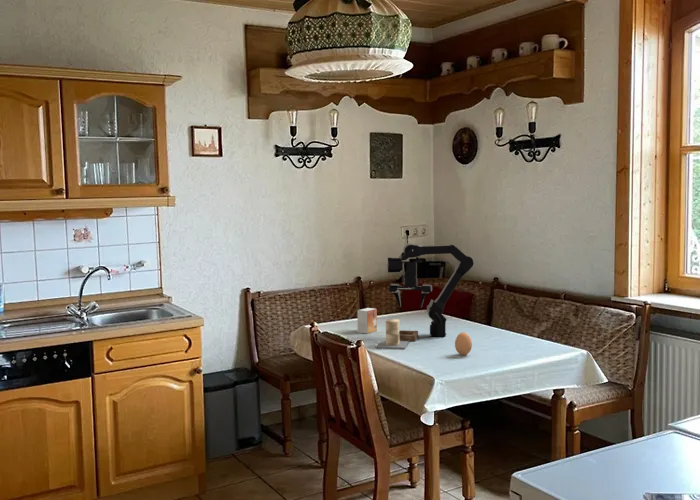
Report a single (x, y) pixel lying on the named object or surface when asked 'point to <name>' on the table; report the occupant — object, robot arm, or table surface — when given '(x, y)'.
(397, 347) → the slate mat
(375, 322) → the small box
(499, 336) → the table surface
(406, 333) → the walnut holder
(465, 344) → the egg
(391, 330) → the birch block
